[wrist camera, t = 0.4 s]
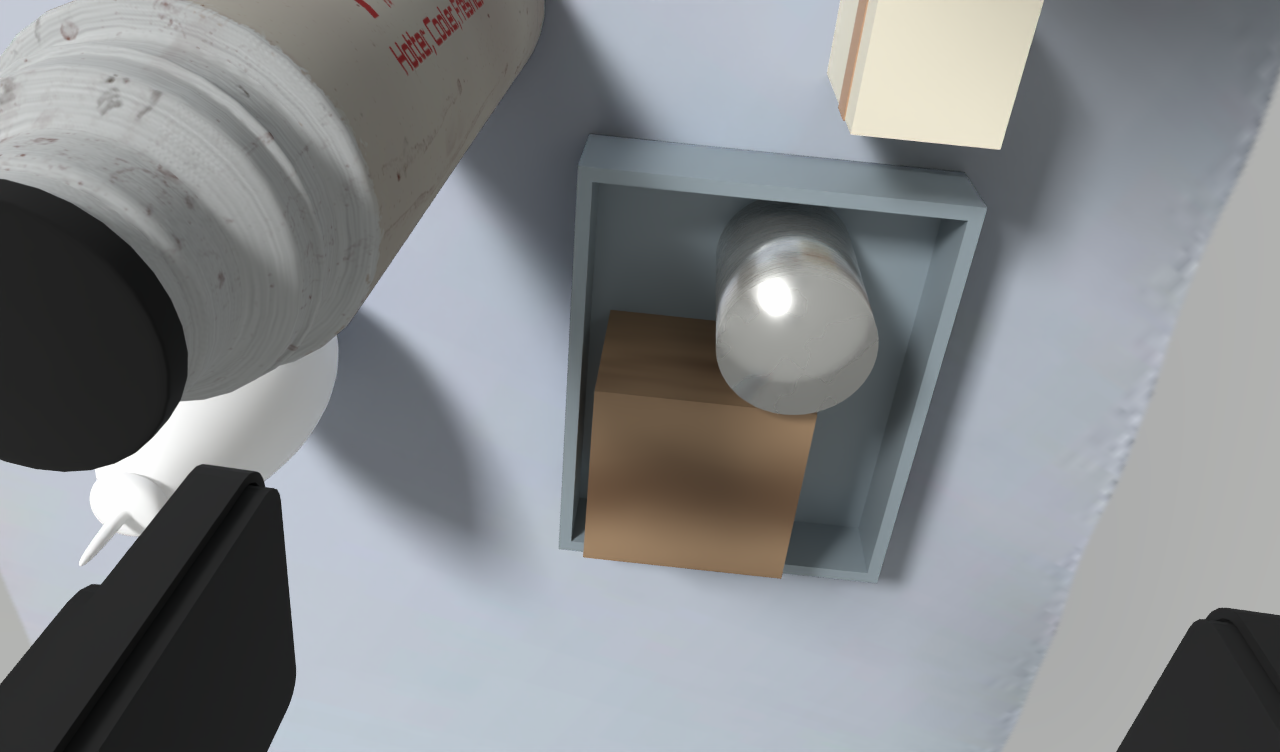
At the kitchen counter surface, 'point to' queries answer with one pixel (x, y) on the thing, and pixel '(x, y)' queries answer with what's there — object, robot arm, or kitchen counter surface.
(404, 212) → the thermos bottle
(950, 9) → the oat carton
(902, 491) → the grey shallow tray
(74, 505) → the kitchen counter surface
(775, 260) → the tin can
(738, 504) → the walnut block
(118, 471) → the sauce bottle
